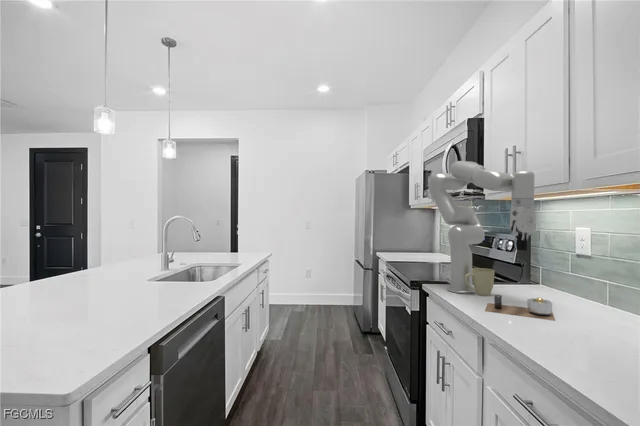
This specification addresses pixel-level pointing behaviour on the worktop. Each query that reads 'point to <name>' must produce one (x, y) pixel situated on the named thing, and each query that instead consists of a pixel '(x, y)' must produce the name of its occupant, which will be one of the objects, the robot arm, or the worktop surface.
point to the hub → (539, 313)
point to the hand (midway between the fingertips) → (521, 250)
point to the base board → (516, 311)
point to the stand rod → (497, 301)
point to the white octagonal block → (539, 306)
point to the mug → (482, 280)
